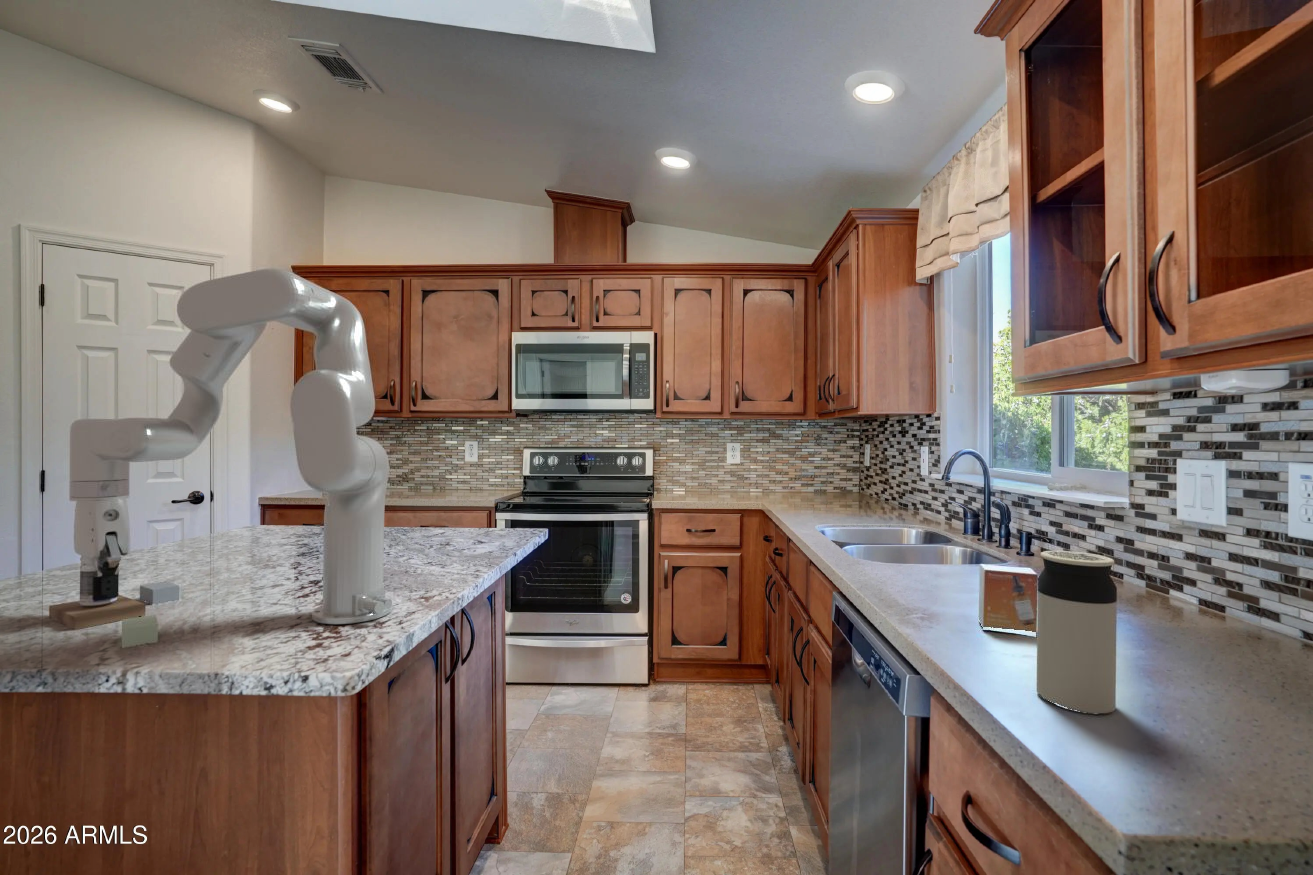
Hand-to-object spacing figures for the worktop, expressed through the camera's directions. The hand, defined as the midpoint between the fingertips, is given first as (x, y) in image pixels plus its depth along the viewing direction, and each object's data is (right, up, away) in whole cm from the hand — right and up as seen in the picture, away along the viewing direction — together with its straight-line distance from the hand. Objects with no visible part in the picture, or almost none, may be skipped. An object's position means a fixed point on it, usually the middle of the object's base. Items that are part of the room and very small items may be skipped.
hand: (99, 595), depth 101 cm
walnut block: (0, -4, 0) cm, 4 cm away
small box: (+156, -6, -1) cm, 156 cm away
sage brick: (+17, -4, -11) cm, 20 cm away
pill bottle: (0, -1, 0) cm, 1 cm away
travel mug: (+148, -6, -28) cm, 150 cm away
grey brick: (+1, -4, +11) cm, 11 cm away
